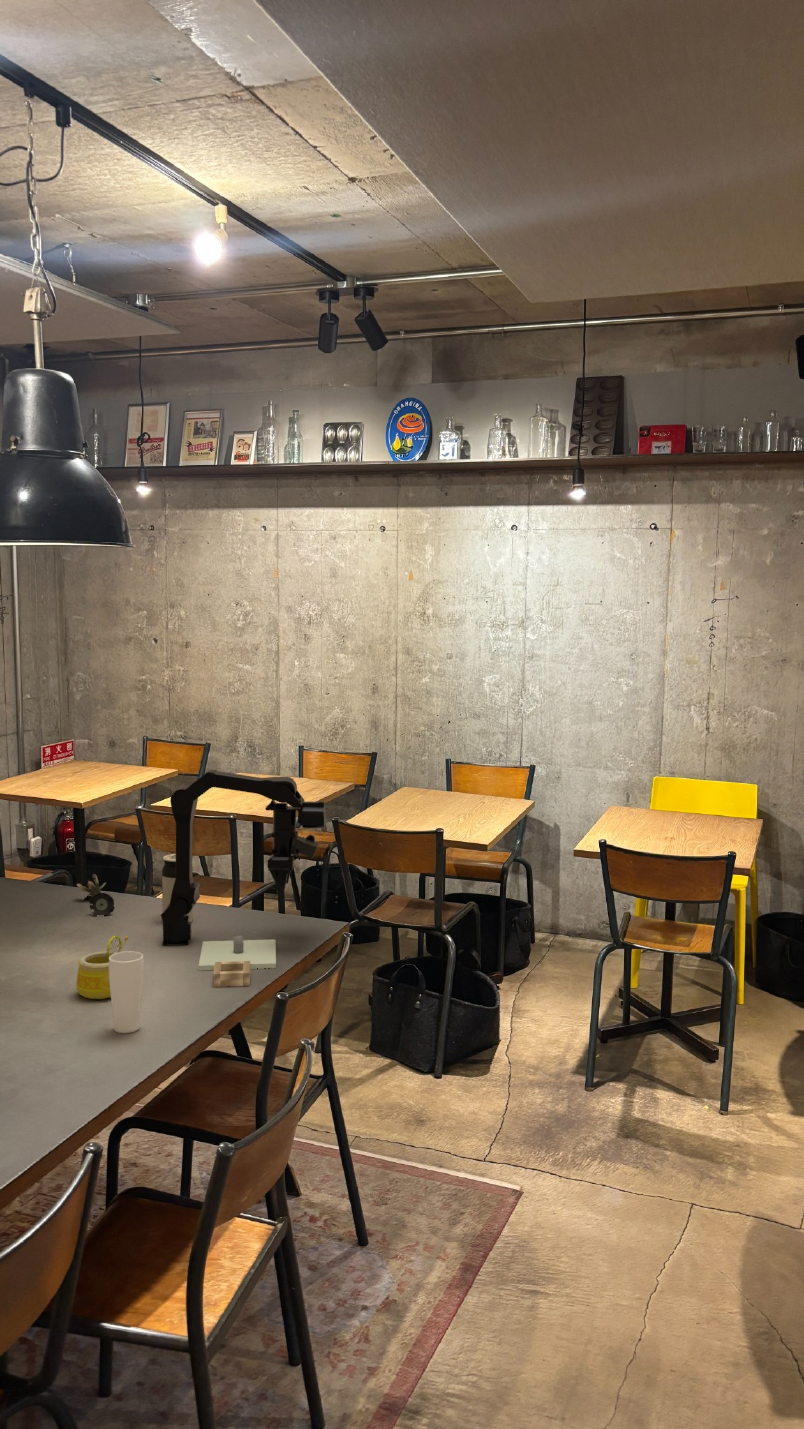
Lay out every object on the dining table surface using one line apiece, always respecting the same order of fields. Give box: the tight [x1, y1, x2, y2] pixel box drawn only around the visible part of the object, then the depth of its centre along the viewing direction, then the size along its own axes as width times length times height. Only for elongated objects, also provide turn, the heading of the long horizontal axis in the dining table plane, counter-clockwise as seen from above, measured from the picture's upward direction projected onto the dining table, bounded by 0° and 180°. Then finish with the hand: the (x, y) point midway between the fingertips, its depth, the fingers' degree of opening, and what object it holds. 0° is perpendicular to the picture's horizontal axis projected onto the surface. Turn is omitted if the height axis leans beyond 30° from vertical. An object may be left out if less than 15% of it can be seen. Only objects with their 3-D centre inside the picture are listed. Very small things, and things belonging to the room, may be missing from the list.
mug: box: [76, 935, 129, 1000], centre depth 226 cm, size 13×11×12 cm
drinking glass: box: [109, 950, 145, 1034], centre depth 206 cm, size 7×7×15 cm
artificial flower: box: [76, 873, 115, 917], centre depth 293 cm, size 9×22×10 cm, turn 18°
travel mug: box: [161, 853, 194, 923], centre depth 278 cm, size 8×8×18 cm
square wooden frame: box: [212, 961, 251, 988], centre depth 235 cm, size 8×8×3 cm
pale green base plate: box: [197, 934, 277, 971], centre depth 251 cm, size 18×18×5 cm
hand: (283, 888), depth 261 cm, fingers open, 9 cm apart
